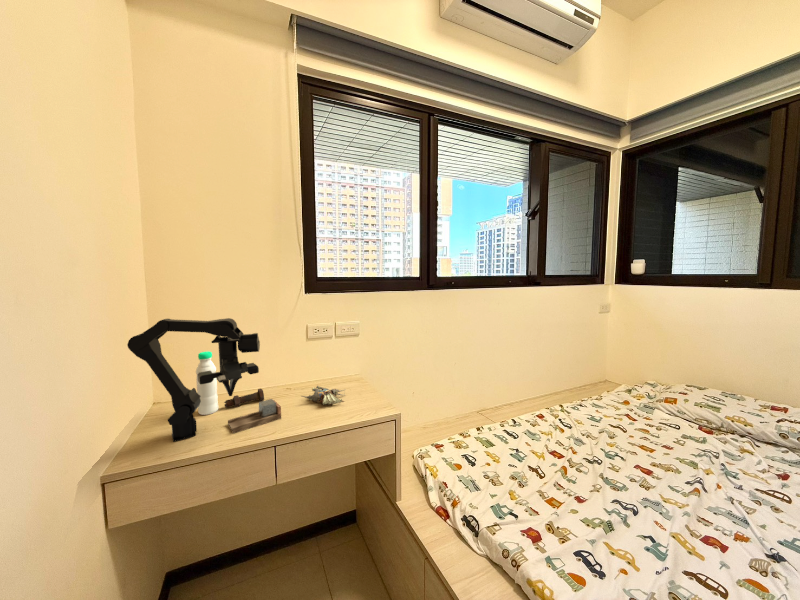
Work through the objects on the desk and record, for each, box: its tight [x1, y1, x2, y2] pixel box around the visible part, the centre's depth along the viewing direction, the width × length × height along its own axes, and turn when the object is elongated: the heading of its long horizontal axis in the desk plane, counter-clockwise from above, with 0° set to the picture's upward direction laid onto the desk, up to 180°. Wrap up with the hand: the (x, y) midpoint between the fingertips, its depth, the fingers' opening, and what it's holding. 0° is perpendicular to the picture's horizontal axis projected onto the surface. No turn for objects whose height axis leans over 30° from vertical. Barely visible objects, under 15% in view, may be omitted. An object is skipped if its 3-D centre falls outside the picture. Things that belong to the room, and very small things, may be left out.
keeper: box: [258, 398, 277, 418], centre depth 120 cm, size 5×5×5 cm
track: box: [227, 400, 282, 434], centre depth 117 cm, size 17×8×5 cm, turn 131°
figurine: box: [301, 384, 347, 406], centre depth 135 cm, size 20×6×17 cm
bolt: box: [223, 388, 265, 409], centre depth 133 cm, size 6×5×15 cm
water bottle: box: [195, 351, 219, 416], centre depth 125 cm, size 7×7×25 cm
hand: (230, 395), depth 111 cm, fingers closed
